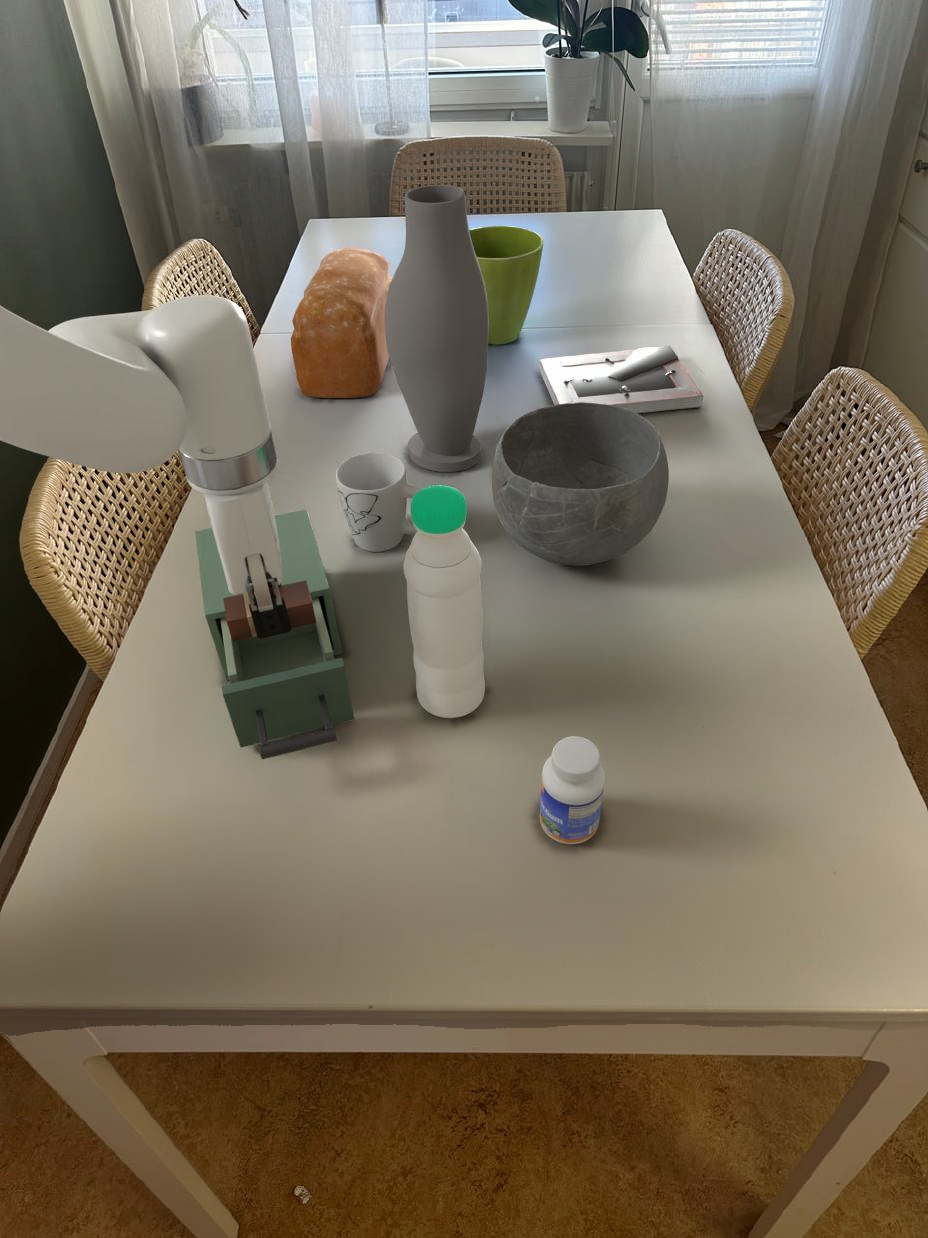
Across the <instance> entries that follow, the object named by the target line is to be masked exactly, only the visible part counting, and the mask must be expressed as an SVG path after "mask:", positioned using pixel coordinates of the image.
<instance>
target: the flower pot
mask: <svg viewBox="0 0 928 1238" xmlns="http://www.w3.org/2000/svg"><path fill="white" fill-rule="evenodd" d="M469 232H470V236H471V241H472V244H473V248H474V251H475V254H476V257H477V260H478V263H479V266H480V269H481V272H482V275H483V279H484V283H485V288H486V293H487V301H488V321H489V325H488V345H506V344H511V343H513V342H514V341H516V340H517V339H518V338H519V336H520V333H521V331H522V329H523V326H524V325H525V321H526V318H527V315H528V313H529V309H530V306H531V303H532V300H533V296H534V292H535V289H536V285H537V281H538V278H539V277H538V276H539V272H540V267H541V261H542V257H543V256H542V255H543V250H544V244H545V243H544V242H545V241H544V238H543V237H542V236H541V235H540V233H538V232H536V231H533V230H532V229H529V228H524V227H519V226H514V225H513V226H512V225H490V226H482V227H475V228H472V229H469Z"/></svg>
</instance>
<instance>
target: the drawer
mask: <svg viewBox="0 0 928 1238" xmlns="http://www.w3.org/2000/svg"><path fill="white" fill-rule="evenodd" d="M311 600H312V604H313V608H314V613H315V618H316V623H313V624H309V625H304V626H300V627H295V628H291V631H290V632H288V633H284V634H279V635H275V636H270V637H266V638H258V637H251V638H246V639H242V640H237V641H232V638H231V635H230V632H229V628H228V625H227V622H226V617H222V618H221V626H222V633H223V640H224V648H225V655H226V662H227V670H228V676H229V679H230V680H229V684H224V685H221V693H222V697H223V701H224V703H225V706H226V710H227V712H228V715H229V718H230V721H231V724H232V727H233V730H234V733H235V735H236V739H237V741H238V744H239V747H240V748H242V749H243V748H246V747H249V746H253V745H258V744H260V746H258V750H259V755H260V759H261V760H266V759H270V758H273V757H279V756H283V755H285V754H290V753H295V752H298V751H302V750H306V749H309V748H314V747H318V746H323V745H326V744H330V743H334V742H338V734H337V731H336V728H335V727H333V725H334V726H335V725H338V724H342V723H347V722H351V721H354V720H355V715H354V709H353V704H352V700H351V699H352V698H351V694H350V688H349V682H348V677H347V672H346V667H345V663H344V659H343V657H340V658H335V656H334V655H333V651H332V647H331V643H330V639H329V636H328V632H327V628H326V624H325V621H324V617H323V613H322V609H321V606H320V602H319V598H318V597H314V598H311ZM323 728H325V730H320V731H317V732H313V733H308V734H304V735H300V736H297V737H294V738H293V737H292V738H289V739H285V740H280V741H277V742H272V743H269V742H270V741H273V740H277V739H281V738H286V737H289V736H294V735H297V734H302V733H306V732H309V731H314V730H319V729H323Z"/></svg>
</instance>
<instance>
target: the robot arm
mask: <svg viewBox="0 0 928 1238" xmlns="http://www.w3.org/2000/svg"><path fill="white" fill-rule="evenodd" d="M261 382H262V381H261V376H260V373H259V367H258V362H257V357H256V353H255V350H254V344H253V340H252V335H251V331H250V327H249V322H248V320H247V317H246V315H245V313H244V312H243V310H242V309H241V307H240V306H239V305H238V304H236V303H235V302H234V301H232V300H230V299H228V298H226V297H224V296H223V297H222V296H218V295H212V294H197V295H188V296H183V297H179V298H175V299H172V300H169V301H167V302H164V303H162V304H160V305H159V306H156V307H155V308H153V309H147V310H141V311H133V312H124V313H114V314H113V313H112V314H102V315H101V314H100V315H93V316H92V315H91V316H83V317H78V318H73V319H69V320H66V321H64V322H61V323H59V324H57V325H55V326H53V327H52V328H50V329H49V330H46V329H45V328H42V327H41V326H38V325H36V324H34V323H32V322H30V321H29V320H26V319H25V318H23V317H21V316H19V315H17V314H16V313H13V312H12V311H10V310H9V309H7V308H5V307H3V306H2V305H0V441H1V442H3V443H6V444H8V445H12V446H14V447H17V448H20V449H22V450H26V451H29V452H32V453H36V454H39V455H41V456H45V457H48V458H49V457H50V458H52V459H56V460H60V461H63V462H67V463H71V464H73V465H78V466H81V467H85V468H88V469H92V470H95V471H100V472H105V473H106V472H107V473H112V474H138V473H143V472H146V471H150V470H154V469H156V468H158V467H160V466H162V465H164V464H165V463H166V462H167V461H169V460H170V459H171V458H172V457H173V456H174V455H175V454H176V453H177V452H178V455H179V457H180V461H181V464H182V469H183V471H184V475H185V477H186V481H187V483H188V485H189V486H190V487H191V488H192V489H193V490H195V491H197V492H199V493H201V494H203V497H204V503H205V506H206V510H207V514H208V518H209V523H210V527H211V528H212V530H213V533H214V537H215V541H216V544H217V548H218V551H219V555H220V558H221V562H222V566H223V569H224V573H225V577H226V581H227V585H228V589H229V592H230V593H232V594H234V595H237V594H240V593H244V590H245V587H246V589H247V593H248V597H249V601H250V604H249V609H250V612H251V616H252V619H253V623H254V627H255V630H256V634H257V637H258V638H266V637H270V636H275V635H279V634H284V633H288V632H290V631H291V625H290V621H289V617H288V613H287V609H286V605H285V601H284V597H281V596H280V592H279V588H278V586H281V583H282V581H283V580H284V578H283V569H282V561H281V553H280V545H279V539H278V532H277V526H276V520H275V515H276V514H275V510H274V505H273V500H272V495H271V491H270V487H269V481H270V480H271V479H272V478H273V477H274V476H276V473H277V471H278V469H279V460H278V455H277V450H276V447H275V442H274V437H273V432H272V429H271V423H270V417H269V414H268V409H267V404H266V399H265V396H264V390H263V386H262V383H261ZM269 588H273V591H272V592H270V591H269ZM254 591H255V594H254ZM273 592H274V593H273Z"/></svg>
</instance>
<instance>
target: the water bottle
mask: <svg viewBox="0 0 928 1238" xmlns="http://www.w3.org/2000/svg"><path fill="white" fill-rule="evenodd" d="M467 509H468V507H467V500H466V498H465V495H464V494H463V493H462V492H461V491H460V490H459V489H456V487H452V486H448V485H444V484H442V485H441V484H438V485H437V484H434V485H430V486H426V487H423V488H422V490H420V491H419V492H417V493H416V494H415V495H414V497H413V498H411V501H410V516H411V521H412V524H414V527H415V528H416V530H417V533H416V534H415V535H413V537H412V540H411V544H410V545H409V547H408V549H407V551H406V552H405V553H406V554H405V556H404V559H403V574H404V578H405V580H406V600H407V612H408V613H407V614H408V620H409V629H410V636H411V640H412V641H411V642H412V646H413V652H412V659H413V668H414V672H415V691H416V697H417V700H418V703H419V704H420V706H421V707H422V708H423V709H424V710H425V711H426V712H427V713H429V714H431V715H433V716H436V717H439V718H443V719H457V718H460V717H464V716H466V715H468V714H471V713H472V712H474V711H475V710H476V709H477V708H478V707H479V706H480V705H481V704H482V703H483V700H484V697H485V694H486V693H485V692H486V683H485V674H484V664H485V656H484V648H483V644H482V643H483V642H482V640H483V629H484V628H483V627H484V626H483V624H484V623H483V621H484V619H483V617H484V616H483V614H484V613H483V595H482V584H481V578H480V577H481V573H482V559H481V555H480V553H479V551H478V549H477V547H476V546H475V544H474V543H473V542H472V540H471V538H470V536H469V534H468V533H467V531H466V530H465V529H464V526H465V525H466V518H467Z"/></svg>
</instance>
